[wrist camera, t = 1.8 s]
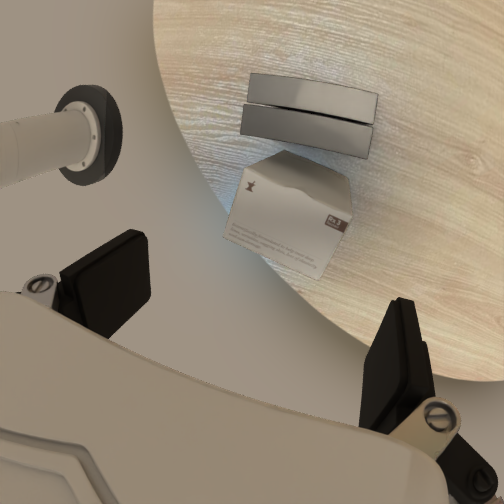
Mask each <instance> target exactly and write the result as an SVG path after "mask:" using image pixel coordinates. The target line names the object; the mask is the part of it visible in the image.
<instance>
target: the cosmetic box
mask: <svg viewBox="0 0 504 504" xmlns="http://www.w3.org/2000/svg"><path fill="white" fill-rule="evenodd" d="M352 218H353V211H352V204H351V195H350V188H349V181H348V178H347V177H345V176H343V175H341V174H339V173H337V172H335V171H333V170H331V169H328V168H326V167H324V166H322V165H320V164H317V163H315V162H313V161H311V160H308V159H306V158H303V157H301V156H298V155H295V154H293V153H291V152H288V151H286V150H283V151H281V152H279V153H277V154H275V155H273V156H270V157H268V158H266V159H264V160H261V161H259V162H257V163H255V164H253V165H250V166H248V167H245V168H244V170H243V173H242V177H241V180H240V183H239V185H238V188H237V192H236V195H235V198H234V201H233V204H232V207H231V211H230V214H229V217H228V221H227V224H226V227H225V231H224V234H223V238H225V239H227V240H229V241H231V242H234V243H236V244H238V245H240V246H243V247H245V248H247V249H249V250H251V251H253V252H256V253H258V254H260V255H262V256H264V257H266V258H269V259H271V260H273V261H275V262H277V263H279V264H282V265H284V266H286V267H288V268H290V269H293V270H295V271H297V272H299V273H301V274H304V275H306V276H308V277H310V278H312V279H314V280H317V281H319V280H320V278H321V276H322V274H323V272H324V270H325V268H326V267H327V265H328V263H329V261H330V259H331V258H332V256H333V254H334V252H335V250H336V248H337V247H338V245H339V243H340V241H341V239H342V237H343V235H344V233H345V232H346V230H347V228H348V226H349V224H350V222H351V220H352Z"/></svg>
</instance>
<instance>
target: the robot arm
mask: <svg viewBox="0 0 504 504" xmlns="http://www.w3.org/2000/svg"><path fill="white" fill-rule="evenodd" d="M100 143H101V127H100V122H99V119H98V116H97V114H96V112H95V110H94V109H93V108H92V107H91V106H90V105H89V104H88V103H86V102H83V101H76V102H72V103H69V104H68V105H67V106H65V107H64V109H63V110H62V111H61V112H56V113H49V114H43V115H37V116H31V117H26V118H21V119H15V120H11V121H6V122H1V123H0V189H2V188H4V187H7V186H9V185H12V184H15V183H17V182H20V181H23V180H26V179H28V178H31V177H34V176H37V175H40V174H43V173H46V172H49V171H52V170H55V169H59V168H62V167H65V166H66V167H67V168H68V169H70V170H72V171H82V170H85V169H87V168H88V167H90V166H91V165H92V164H93V162H94V161H95V159H96V157H97V155H98V152H99V149H100ZM59 273H60V277H61V281H60V282H59V283H58V281H57V279H56V277H55V276H53V275H50V274H41V275H37V276H34V277H32V278H31V279H29V280H28V281H27V282H26V283H25V285H24V287H23V289H22V292H16V293H13V292H6V291H0V504H504V501H503V499H502V497H501V496H500V497H499V498H497V497H496V495H495V493H496V491H497V487H498V477H497V475H496V472H495V470H494V469H493V468H492V467H491V466H490V465H489V464H488V463H487V462H486V461H485V460H484V459H483V458H482V457H481V456H480V455H479V454H478V453H477V452H476V451H475V450H474V449H473V448H472V447H471V446H470V445H469V444H468V443H467V442H466V441H465V440H464V439H463V438H462V437H461V436H460V435H459V434H458V433H457V432H458V431H459V429H460V426H461V417H460V413H459V411H458V410H457V408H456V407H455V406H454V405H453V404H452V403H451V402H450V401H448V400H446V399H444V398H441V397H435V390H434V382H433V376H432V369H431V364H430V358H429V352H428V347H427V344H426V342H425V341H422V337H421V332H420V327H419V322H418V318H417V313H416V309H415V304H414V301H412V300H408V299H404V298H400V297H398V298H397V299H396V301H395V300H391V302H390V304H389V306H388V309H387V311H386V314H385V316H384V318H383V321H382V323H381V325H380V328H379V330H378V332H377V334H376V337H375V339H374V341H373V343H372V345H371V347H370V350H369V352H368V354H367V356H366V359H365V362H364V372H363V373H364V374H363V387H362V399H361V409H360V419H359V427H356V426H352V425H348V424H344V423H340V422H335V421H331V420H327V419H323V418H319V417H315V416H312V415H308V414H304V413H301V412H297V411H293V410H290V409H286V408H282V407H279V406H276V405H272V404H269V403H266V402H262V401H259V400H256V399H253V398H250V397H246V396H244V395H241V394H237V393H235V392H232V391H229V390H226V389H223V388H221V387H218V386H215V385H212V384H210V383H207V382H204V381H202V380H199V379H196V378H194V377H191V376H189V375H186V374H184V373H181V372H179V371H176V370H174V369H172V368H169V367H167V366H164V365H162V364H160V363H157V362H155V361H153V360H151V359H148V358H146V357H144V356H142V355H140V354H137V353H135V352H133V351H131V350H129V349H127V348H125V347H123V346H120V345H118V344H117V343H114V342H112V341H110V340H108V339H109V338H110V337H111V336H112V335H113V334H114V333H115V332H116V331H117V330H118V329H119V328H120V327H121V326H122V325H123V324H124V323H125V322H126V321H128V320H129V319H130V318H131V317H132V316H133V315H134V314H135V313H136V312H137V311H138V310H139V309H140V308H141V307H142V306H143V305H144V304H145V303H147V302H148V300H149V299H150V296H151V286H150V273H149V255H148V240H147V237H146V236H145V234H144V233H143V232H141V231H137V230H133V229H129V230H127V231H126V232H124V233H122V234H120V235H119V236H117V237H115V238H114V239H112V240H110V241H109V242H107V243H105V244H103V245H102V246H100V247H99V248H97V249H95V250H94V251H92V252H90V253H89V254H87V255H85V256H84V257H82V258H81V259H79V260H78V261H76V262H74V263H73V264H71V265H70V266H68V267H67V268H65V269H63V270H62V271H60V272H59Z"/></svg>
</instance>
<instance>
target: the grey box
mask: <svg viewBox="0 0 504 504" xmlns="http://www.w3.org/2000/svg"><path fill="white" fill-rule="evenodd" d="M377 101H378V94H377V93H373V92H369V91H365V90H360V89H356V88H351V87H347V86H342V85H337V84H331V83H326V82H320V81H314V80H308V79H301V78H294V77H286V76H277V75H268V74H257V73H250V80H249V87H248V95H247V102H249V103H256V104H263V105H269V106H275V107H281V108H288V109H294V110H300V111H306V112H312V113H317V114H323V115H328V116H333V117H337V118H342V119H346V120H351V121H355V122H359V123H364V124H370V125H373V124H374V119H375V113H376V107H377ZM372 133H373V127H369V126H365V125H361V124H357V123H353V122H349V121H344V120H340V119H335V118H330V117H325V116H320V115H315V114H309V113H304V112H298V111H292V110H285V109H278V108H271V107H264V106H255V105H247V104H244V106H243V114H242V122H241V130H240V134H241V135H247V136H254V137H260V138H267V139H273V140H278V141H284V142H290V143H295V144H300V145H305V146H310V147H315V148H320V149H325V150H329V151H334V152H338V153H342V154H347V155H351V156H355V157H359V158H363V159H368V154H369V149H370V144H371V138H372Z"/></svg>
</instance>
